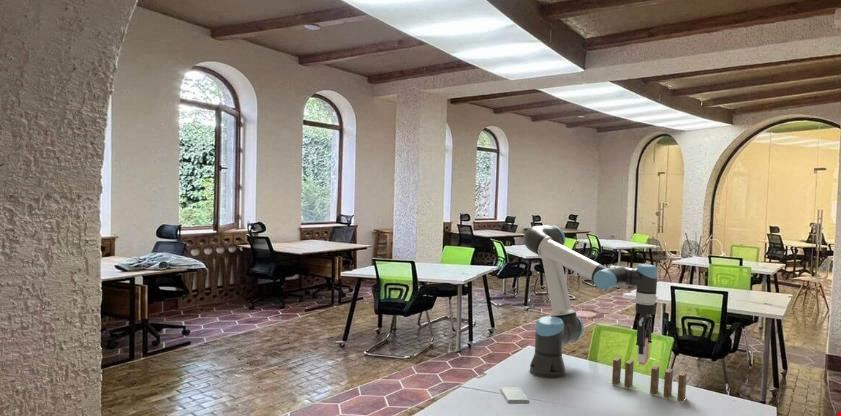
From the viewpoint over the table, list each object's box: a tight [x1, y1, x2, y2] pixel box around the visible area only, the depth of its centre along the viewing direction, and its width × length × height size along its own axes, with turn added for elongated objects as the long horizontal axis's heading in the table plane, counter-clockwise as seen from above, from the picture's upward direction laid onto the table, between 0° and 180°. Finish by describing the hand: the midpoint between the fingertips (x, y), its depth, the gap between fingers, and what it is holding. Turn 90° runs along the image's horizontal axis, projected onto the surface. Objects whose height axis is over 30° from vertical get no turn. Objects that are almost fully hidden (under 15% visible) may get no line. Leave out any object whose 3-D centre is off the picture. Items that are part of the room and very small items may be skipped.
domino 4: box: [649, 365, 660, 395], centre depth 212 cm, size 2×5×10 cm, turn 142°
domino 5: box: [663, 368, 674, 398], centre depth 209 cm, size 2×5×10 cm, turn 142°
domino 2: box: [624, 359, 635, 389], centre depth 218 cm, size 2×5×10 cm, turn 142°
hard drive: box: [499, 386, 530, 404], centre depth 205 cm, size 2×8×12 cm
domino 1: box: [611, 356, 622, 386], centre depth 221 cm, size 2×5×10 cm, turn 142°
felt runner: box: [607, 379, 688, 404], centre depth 215 cm, size 29×8×1 cm, turn 52°
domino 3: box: [638, 337, 648, 366], centre depth 215 cm, size 2×5×10 cm, turn 142°
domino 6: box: [677, 371, 688, 402], centre depth 206 cm, size 2×5×10 cm, turn 142°
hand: (643, 359), depth 215 cm, fingers closed on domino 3, 5 cm apart
